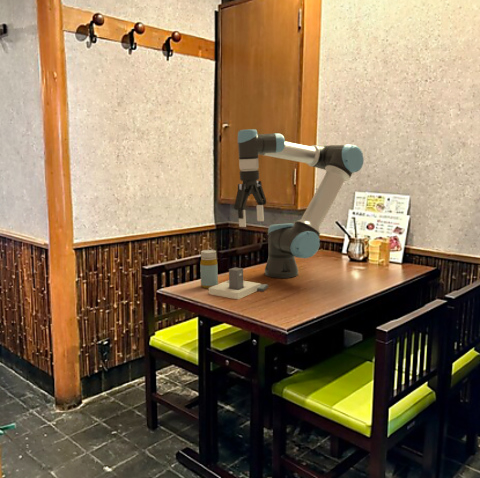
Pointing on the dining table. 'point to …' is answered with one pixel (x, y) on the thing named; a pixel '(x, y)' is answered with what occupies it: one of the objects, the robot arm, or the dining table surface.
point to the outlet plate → (224, 290)
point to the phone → (262, 287)
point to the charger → (236, 278)
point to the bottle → (208, 269)
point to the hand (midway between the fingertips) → (251, 223)
